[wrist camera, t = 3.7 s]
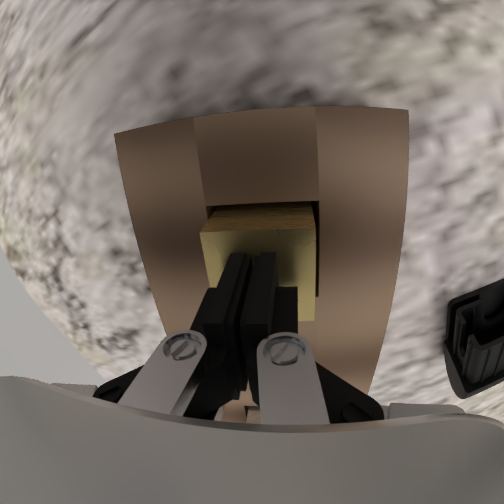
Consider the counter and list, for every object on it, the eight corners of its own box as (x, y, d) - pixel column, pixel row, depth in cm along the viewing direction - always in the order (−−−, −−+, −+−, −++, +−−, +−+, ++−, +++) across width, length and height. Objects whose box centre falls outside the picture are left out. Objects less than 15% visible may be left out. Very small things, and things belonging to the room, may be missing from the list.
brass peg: (229, 190, 15) (199, 232, 10) (307, 186, 14) (315, 228, 10) (238, 257, 17) (216, 320, 12) (309, 255, 16) (314, 320, 11)
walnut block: (166, 123, 16) (114, 133, 11) (369, 108, 14) (408, 109, 9) (226, 398, 28) (214, 447, 23) (343, 399, 26) (346, 450, 21)
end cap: (439, 357, 22) (459, 412, 16) (442, 301, 20) (475, 362, 14) (516, 323, 20) (544, 368, 14) (528, 266, 17) (568, 311, 11)
